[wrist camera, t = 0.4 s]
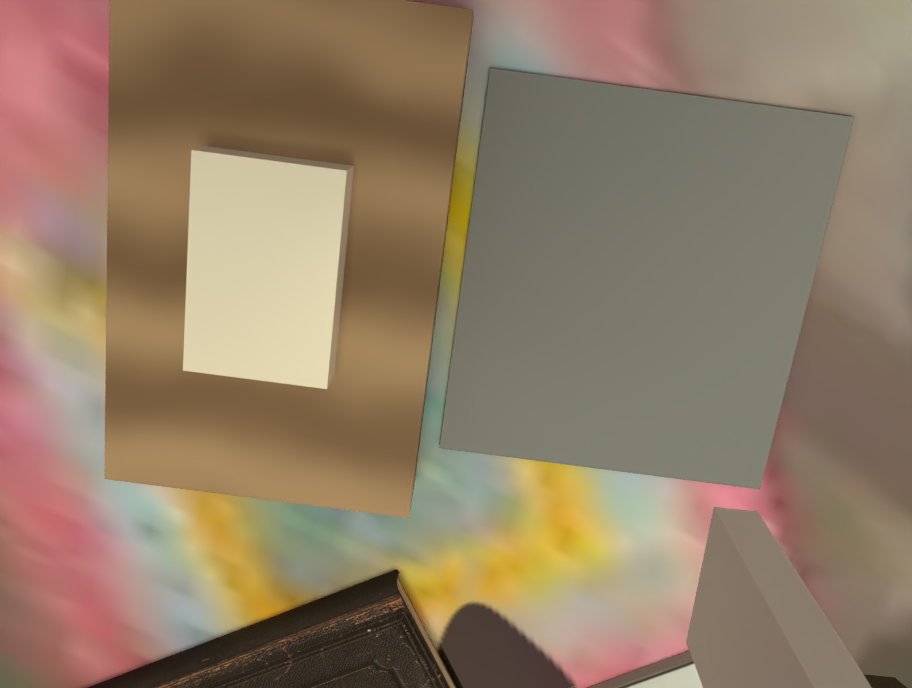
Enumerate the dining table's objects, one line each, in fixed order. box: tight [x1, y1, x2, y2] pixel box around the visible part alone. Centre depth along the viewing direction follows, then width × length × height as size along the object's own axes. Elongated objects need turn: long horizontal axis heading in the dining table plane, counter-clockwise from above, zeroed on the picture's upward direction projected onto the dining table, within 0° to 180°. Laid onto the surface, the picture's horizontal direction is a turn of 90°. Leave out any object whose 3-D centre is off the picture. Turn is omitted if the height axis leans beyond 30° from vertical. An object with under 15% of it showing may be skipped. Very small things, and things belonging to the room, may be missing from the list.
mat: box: [439, 68, 855, 489], centre depth 41 cm, size 18×16×1 cm
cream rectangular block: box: [183, 146, 354, 389], centre depth 36 cm, size 9×6×2 cm, turn 173°
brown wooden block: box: [105, 0, 473, 518], centre depth 39 cm, size 22×14×4 cm, turn 173°
